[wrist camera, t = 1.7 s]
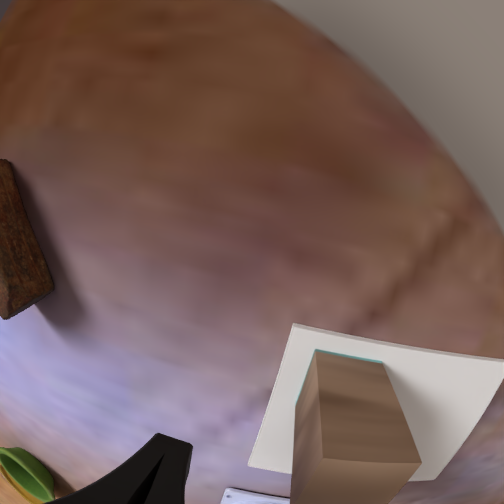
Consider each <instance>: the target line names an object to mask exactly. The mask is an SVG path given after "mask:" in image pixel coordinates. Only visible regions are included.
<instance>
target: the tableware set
mask: <svg viewBox="0 0 504 504" xmlns="http://www.w3.org/2000/svg"><path fill="white" fill-rule="evenodd" d="M0 472H1V474H2V475H3V477H4V478H5V479H6V480H7V482H8V483H9V484H10V485H11V486H12V487H13V488H14V489H15V490H16V491H17V492H18V493H19V494H20V495H21V496H22V497H23V498H24V499H26V500H27V501H28V502H29V503H31V504H42V503H46V502H49V501H53V500H55V495H54V481H53V478H52V476H51V474H50V473H49V472H48V470H47V469H46V468H45V467H44V466H43V465H42V464H41V463H40V462H39V461H38V460H37V459H36V458H35V457H34V456H33V455H31V454H30V453H29V452H27V451H26V450H24V449H22V448H19V447H17V448H4V447H0Z"/></svg>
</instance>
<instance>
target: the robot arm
mask: <svg viewBox="0 0 504 504" xmlns="http://www.w3.org/2000/svg"><path fill="white" fill-rule="evenodd" d="M192 449H193V446H192V445H191V444H190V443H187V442H184V441H181V440H178V439H175V438H172V437H169V436H166V435H163V434H161V433H157V434H155V435H154V436H153V437H152V438H151V439H150V440H149V441H148V442H147V443H146V444H145V445H144V446H143V447H142V448H141V449H140V450H139V451H137V452H136V453H135V454H134V455H133V456H132V457H130V458H129V459H128V460H126V461H125V462H124V463H123V464H121V465H120V466H119V467H117V468H116V469H114V470H113V471H111V472H110V473H108V474H107V475H105V476H104V477H102V478H101V479H99V480H97V481H96V482H94V483H92V484H90V485H88V486H87V487H85V488H83V489H81V490H78V491H76V492H74V493H71V494H69V495H67V496H64V497H62V498H59V499H56V500H53V501H49V502H46V503H42V504H185V501H184V494H185V484H186V480H187V477H188V474H189V469H190V462H191V456H192ZM221 504H290V499H288V498H281V497H275V496H269V495H263V494H257V493H252V492H247V491H243V490H238V489H234V488H227V489H225V492H224V495H223V498H222V501H221Z"/></svg>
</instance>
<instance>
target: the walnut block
mask: <svg viewBox="0 0 504 504" xmlns="http://www.w3.org/2000/svg"><path fill="white" fill-rule="evenodd" d="M421 464H422V461H421V458H420V456H419V453H418V450H417V447H416V445H415V442H414V439H413V437H412V434H411V431H410V429H409V426H408V424H407V421H406V418H405V416H404V413H403V411H402V408H401V406H400V403H399V401H398V398H397V396H396V394H395V391H394V389H393V386H392V384H391V382H390V379H389V377H388V375H387V372H386V370H385V368H384V365H383V363H382V361H379V360H373V359H367V358H362V357H356V356H351V355H345V354H340V353H335V352H330V351H325V350H320V349H315V350H314V353H313V356H312V359H311V362H310V365H309V368H308V370H307V373H306V376H305V379H304V381H303V384H302V387H301V390H300V392H299V395H298V398H297V400H296V403H295V423H294V444H293V462H292V478H291V493H290V504H388V503H389V502H390V501H391V500H392V499H393V498H394V496H395V495H396V494H397V493H398V492H399V491H400V490H401V488H402V487H403V486H404V485H405V484H406V483H407V481H408V480H409V479H410V478H411V477H412V475H413V474H414V473H415V472H416V470H417V469H418V468H419V466H420V465H421Z"/></svg>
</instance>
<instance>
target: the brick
mask: <svg viewBox="0 0 504 504" xmlns="http://www.w3.org/2000/svg"><path fill="white" fill-rule="evenodd" d="M53 290H54V286H53V282H52V279H51V276H50V273H49V271H48V268H47V264H46V262H45V259H44V256H43V254H42V252H41V250H40V247H39V245H38V242H37V240H36V237H35V235H34V232H33V230H32V227H31V225H30V222H29V220H28V218H27V214H26V212H25V209H24V206H23V203H22V200H21V197H20V194H19V191H18V188H17V185H16V182H15V179H14V175H13V172H12V169H11V166H10V164H9V162H8V160H6V159H4V160H3V159H0V316H1V317H2V319H4V320H5V319H6V320H7V319H10V318H11V317H13V316H15V315H17V314H18V313H20V312H22V311H24V310H25V309H27V308H28V307H30V306H32V305H33V304H35V303H36V302H38V301H39V300H41V299H42V298H43V297H45V296H46V295H48V294H50V293H51V292H52V291H53Z"/></svg>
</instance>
